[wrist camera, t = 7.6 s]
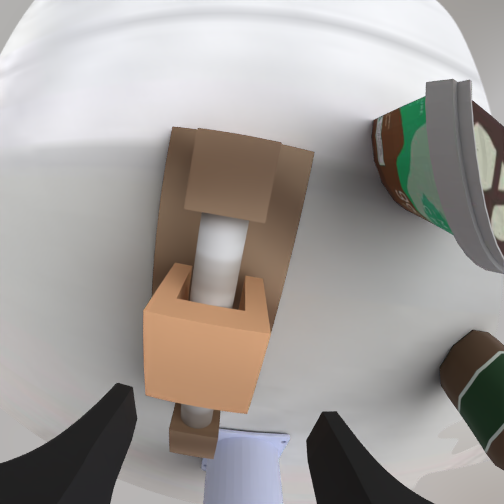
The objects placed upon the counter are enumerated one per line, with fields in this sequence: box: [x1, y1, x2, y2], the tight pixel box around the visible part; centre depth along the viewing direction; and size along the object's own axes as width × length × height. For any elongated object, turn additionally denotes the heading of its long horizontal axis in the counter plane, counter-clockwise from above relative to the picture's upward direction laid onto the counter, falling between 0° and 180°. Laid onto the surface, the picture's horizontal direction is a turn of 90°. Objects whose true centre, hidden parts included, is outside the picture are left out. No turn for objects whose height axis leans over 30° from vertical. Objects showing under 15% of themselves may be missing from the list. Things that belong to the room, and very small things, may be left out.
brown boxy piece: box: [152, 127, 314, 459], centre depth 15 cm, size 20×8×6 cm, turn 169°
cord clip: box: [143, 263, 271, 414], centre depth 14 cm, size 5×5×6 cm
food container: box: [372, 79, 504, 274], centre depth 12 cm, size 12×6×10 cm, turn 77°
